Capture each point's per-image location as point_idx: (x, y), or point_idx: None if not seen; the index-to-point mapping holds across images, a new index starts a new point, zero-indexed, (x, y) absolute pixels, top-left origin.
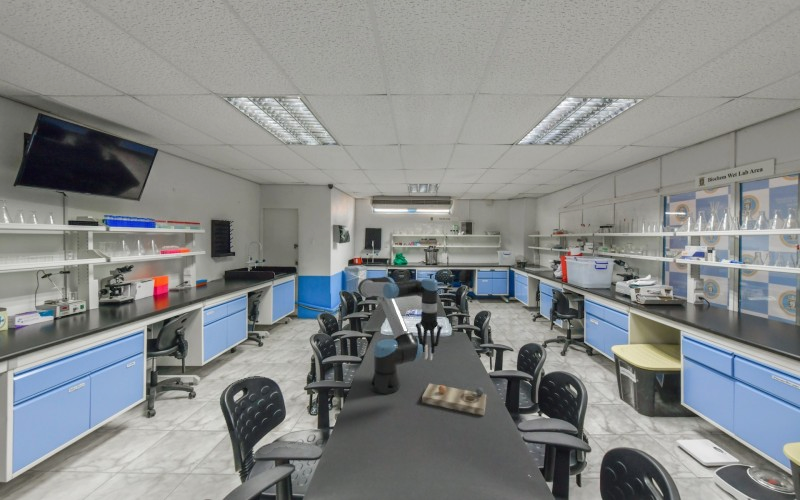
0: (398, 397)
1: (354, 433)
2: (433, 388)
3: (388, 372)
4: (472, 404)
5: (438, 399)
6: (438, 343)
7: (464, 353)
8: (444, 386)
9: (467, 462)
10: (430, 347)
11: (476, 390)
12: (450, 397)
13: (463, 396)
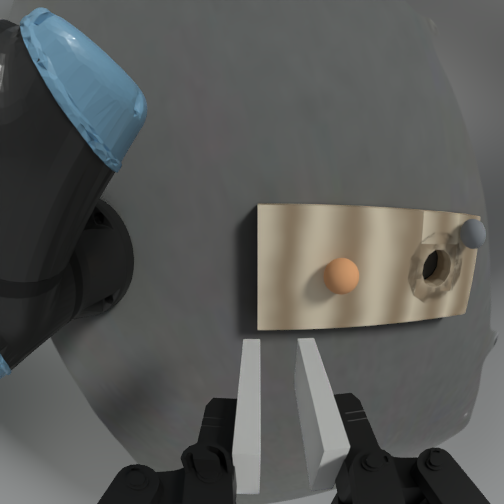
0: (158, 311)
1: (153, 452)
2: (290, 248)
3: (66, 322)
4: (441, 305)
5: (328, 327)
6: (450, 462)
7: None
8: (356, 277)
9: (388, 444)
10: (321, 488)
11: (468, 241)
12: (373, 293)
13: (418, 265)
